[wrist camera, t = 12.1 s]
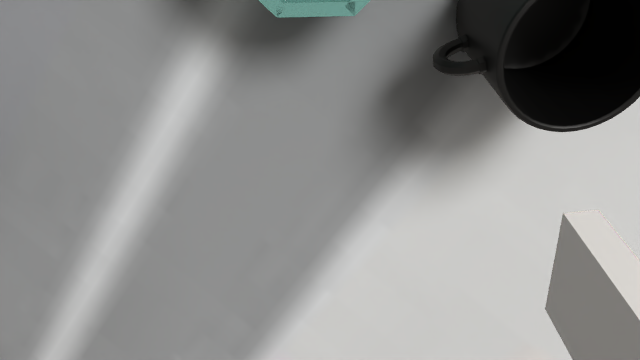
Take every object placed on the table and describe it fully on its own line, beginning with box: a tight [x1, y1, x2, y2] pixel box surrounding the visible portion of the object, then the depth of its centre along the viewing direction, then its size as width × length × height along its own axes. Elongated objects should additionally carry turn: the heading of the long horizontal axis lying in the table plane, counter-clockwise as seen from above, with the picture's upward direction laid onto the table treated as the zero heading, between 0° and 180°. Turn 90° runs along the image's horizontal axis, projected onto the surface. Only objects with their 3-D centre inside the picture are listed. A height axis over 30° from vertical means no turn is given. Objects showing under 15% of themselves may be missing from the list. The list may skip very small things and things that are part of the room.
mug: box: [433, 0, 640, 132], centre depth 37 cm, size 9×12×9 cm
